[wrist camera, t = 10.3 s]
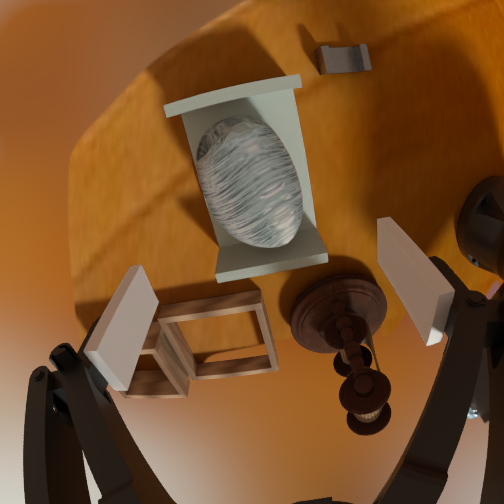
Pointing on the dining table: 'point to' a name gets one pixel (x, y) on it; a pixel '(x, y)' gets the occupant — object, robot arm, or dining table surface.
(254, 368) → the frame
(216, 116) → the holder
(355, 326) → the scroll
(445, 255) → the dining table surface
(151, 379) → the frame
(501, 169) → the dining table surface
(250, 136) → the grey oval rock
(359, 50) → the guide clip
